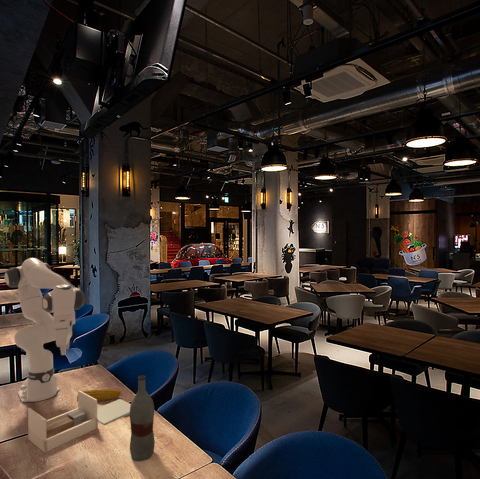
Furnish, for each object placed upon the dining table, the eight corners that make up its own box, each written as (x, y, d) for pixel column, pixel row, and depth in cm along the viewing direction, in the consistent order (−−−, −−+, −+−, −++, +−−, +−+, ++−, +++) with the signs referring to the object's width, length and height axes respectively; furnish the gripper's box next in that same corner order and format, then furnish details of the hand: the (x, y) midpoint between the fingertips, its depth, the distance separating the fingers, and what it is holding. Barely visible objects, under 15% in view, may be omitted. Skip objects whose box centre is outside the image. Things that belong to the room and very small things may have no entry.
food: (76, 406, 171) (76, 394, 171) (78, 401, 177) (78, 389, 177) (120, 399, 178) (120, 388, 178) (120, 395, 183) (120, 384, 183)
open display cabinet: (27, 439, 142) (27, 408, 142) (79, 417, 159) (79, 390, 159) (44, 454, 132) (44, 420, 132) (97, 429, 149) (97, 399, 150)
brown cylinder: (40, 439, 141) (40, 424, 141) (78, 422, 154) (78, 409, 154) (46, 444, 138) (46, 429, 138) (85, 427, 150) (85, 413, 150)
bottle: (130, 464, 125) (130, 383, 125) (128, 451, 133) (127, 374, 134) (156, 458, 129) (156, 378, 129) (152, 445, 137) (152, 370, 137)
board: (86, 415, 162) (86, 412, 162) (119, 401, 176) (119, 398, 176) (104, 426, 152) (104, 423, 152) (138, 410, 166) (138, 407, 166)
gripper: (60, 317, 162) (61, 346, 162) (52, 326, 143) (53, 359, 143) (75, 316, 165) (75, 344, 164) (68, 324, 145) (69, 357, 145)
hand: (65, 351), depth 153 cm, fingers open, 8 cm apart
